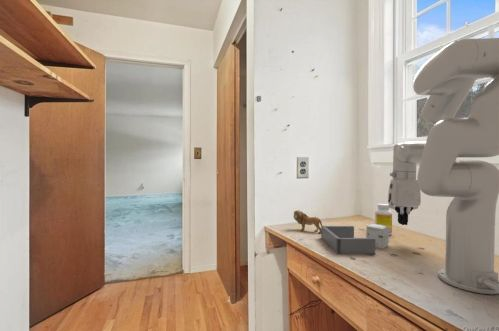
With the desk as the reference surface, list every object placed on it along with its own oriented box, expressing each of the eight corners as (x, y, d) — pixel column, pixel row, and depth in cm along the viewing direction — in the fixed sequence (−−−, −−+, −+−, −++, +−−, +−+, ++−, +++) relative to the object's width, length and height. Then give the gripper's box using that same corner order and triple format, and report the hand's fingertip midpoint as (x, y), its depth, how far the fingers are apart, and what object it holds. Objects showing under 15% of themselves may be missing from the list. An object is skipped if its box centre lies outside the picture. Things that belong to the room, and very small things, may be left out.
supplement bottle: (394, 236, 108) (394, 205, 108) (377, 235, 109) (377, 205, 109) (388, 231, 114) (389, 203, 114) (373, 231, 116) (373, 202, 116)
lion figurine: (292, 230, 115) (292, 211, 115) (294, 228, 120) (294, 209, 120) (325, 234, 109) (325, 213, 109) (327, 231, 114) (327, 211, 114)
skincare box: (365, 245, 96) (365, 225, 96) (372, 241, 100) (372, 223, 100) (382, 249, 91) (383, 228, 91) (389, 245, 95) (389, 226, 95)
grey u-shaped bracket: (375, 253, 86) (375, 239, 86) (337, 253, 86) (337, 238, 86) (352, 238, 104) (352, 225, 104) (321, 238, 104) (321, 225, 104)
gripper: (390, 176, 92) (388, 226, 93) (431, 176, 92) (429, 226, 93) (379, 175, 99) (378, 221, 100) (417, 175, 100) (415, 221, 100)
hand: (402, 223), depth 96 cm, fingers closed
